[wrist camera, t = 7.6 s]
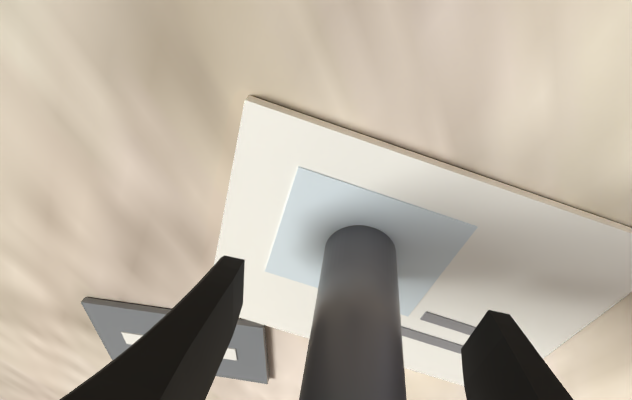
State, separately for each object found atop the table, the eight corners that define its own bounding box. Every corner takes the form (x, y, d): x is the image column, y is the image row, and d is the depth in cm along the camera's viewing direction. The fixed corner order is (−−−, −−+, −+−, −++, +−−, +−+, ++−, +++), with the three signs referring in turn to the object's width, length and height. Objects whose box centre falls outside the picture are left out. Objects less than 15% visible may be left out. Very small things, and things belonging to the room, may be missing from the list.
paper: (676, 242, 11) (686, 253, 11) (491, 386, 17) (494, 396, 17) (249, 95, 10) (244, 100, 10) (209, 300, 16) (205, 308, 16)
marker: (413, 255, 12) (446, 517, 7) (358, 287, 14) (346, 529, 8) (361, 211, 11) (347, 464, 6) (308, 249, 13) (255, 487, 7)
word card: (264, 322, 16) (262, 329, 16) (268, 378, 19) (267, 385, 19) (85, 297, 17) (79, 303, 17) (114, 354, 20) (111, 360, 20)
